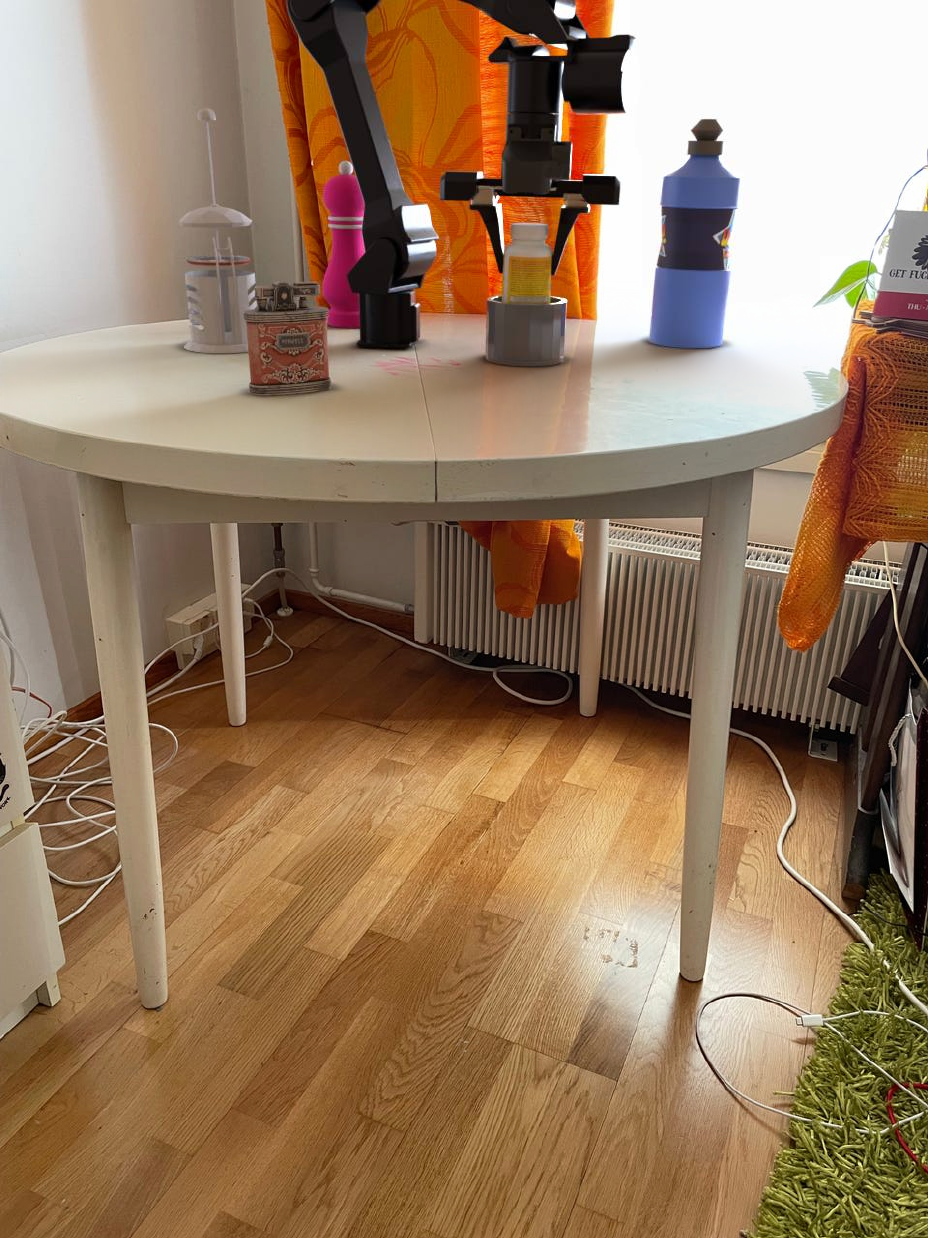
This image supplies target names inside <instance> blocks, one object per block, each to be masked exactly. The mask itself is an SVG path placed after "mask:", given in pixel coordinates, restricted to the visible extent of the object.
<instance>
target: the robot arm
mask: <svg viewBox="0 0 928 1238" xmlns="http://www.w3.org/2000/svg"><path fill="white" fill-rule="evenodd" d="M382 1H383V0H286V8H287V9H286V10H287V14H288V16H289V19H290V21H291V23H292V25H293V27H294V30H295V32H296V34H297V36H298V38H299V40H300V43H301V44H302V46H303V47H304V48H305V50H306V51H307V53H308V54H309V55H310V56H311V57H312V59H313V60H314V61H315V63H316V64H317V66H318V67H319V68H320V69H321V71H322V73H323V76H324V79H325V82H326V85H327V88H328V91H329V94H330V95H329V96H330V98H331V102H332V104H333V108H334V110H335V114H336V117H337V121H338V124H339V127H340V130H341V133H342V137H343V140H344V143H345V147H346V150H347V153H348V155H349V159H350V163H351V164H352V166H353V172H354V174H355V175H354V176H356V178H357V182H358V185H359V188H360V191H361V194H362V198H363V201H364V214H363V222H362V238H363V244H364V250H365V253H364V254H363V256H362V257H361V258H360V259H359V260H358V262H357V263H356V264H355V265H354V266H353V267H352V269H351V270H350V271H349V272H348V273H347V279H348V282H349V285H350V289H351V292H352V293H359V321H360V328H359V340H357V341H356V342H355V344H356V347H361V348H363V347H364V348H385V349H386V348H387V349H388V348H389V349H411V348H412V347H413V346H414V345H415V344H416V343H418V342H419V339H420V338H421V304H420V303H419V302H416V289H417V290H419V289H421V288H422V287H423V285H424V280H425V278H426V274H427V273H428V271H429V270H430V269H431V268H432V266H433V264H434V262H435V259H436V258H437V246H436V241H437V240H439V238H440V237H439V235H438V234H437V232H436V231H435V229H434V226H433V223H432V217H431V211H430V208H429V206H428V204H427V203H424V202H423V203H414V202H413V201H412V199H411V198H410V197H409V195H408V194H407V193H406V191H405V188H404V185H403V182H402V179H401V175H400V171H399V168H398V165H397V161H396V158H395V155H394V152H393V148H392V145H391V141H390V139H389V135H388V131H387V128H386V125H385V122H384V119H383V114H382V112H381V109H380V105H379V102H378V98H377V95H376V92H375V89H374V85H373V82H372V79H371V74H370V72H369V68H368V66H367V60H366V57H367V56H366V55H367V48H368V47H367V46H368V36H369V29H368V22H367V21H368V20H367V16H368V15H369V14H370V13H372V12H373V11H374V10H375V9H377V8H378V7H379V6H380V4H381V3H382ZM457 1H459V2H462V3H464V4H468V5H471V6H473V8H476V9H478V10H479V11H481V12H482V13H484V15H486V16H488V17H489V18H491V19H492V20H494V21H496V22H497V23H499V24H500V25H502V26H504V27H506V28H507V29H509V30H510V31H512V32H514V33H517V34H518V35H522V36H526V37H530V38H534V39H537V40H540V41H541V42H542V43H544V45H543V44H522V45H521V44H519V42H518V41H517V40H516V38H514V37H510V36H504V37H503V38H502V41H501V43H500V44H499V45H498V46H497V47H496V48H495V49H494V50H493V51H492V52H491V53H489V55H488V57H487V60H488V62H489V63H491V64H496V65H501V66H507V86H506V87H507V90H506V116H505V117H506V118H505V119H506V120H505V121H506V122H505V144H504V147H503V149H502V153H501V166H500V178H499V177H498V178H495V177H484V172H483V171H469V170H468V171H467V170H448V171H447V170H446V171H445V172H444V173H443V174H442V176H440V182H439V201H450V202H451V201H453V202H456V201H457V202H470V204H468V207H469V208H468V209H469V210H470V211H476V212H478V214H479V216H480V217H481V220H482V222H483V224H484V226H485V228H486V231H487V234H488V237H489V240H490V245H491V247H492V252H493V256H494V259H495V262H496V266H497V271H498V274H502V275H503V255H504V249H505V241H504V225H503V224H504V223H503V207H502V205H503V204H502V203H500V202H498V200H499V199H500V197H512V198H513V197H514V198H515V197H517V198H520V197H521V198H552V199H562V200H563V201H562V202H564V205H562V206H561V207H560V211H559V219H558V224H557V231H556V234H555V235H556V237H555V241H554V247H553V258H552V269H551V275H552V277H553V276H556V273H557V270H558V268H559V265H560V261H561V258H562V256H563V253H564V250H565V248H566V244H567V242H568V239H569V236H570V234H571V232H572V230H573V228H574V225H575V224H576V221H577V220H578V217H579V215H580V214H589V213H590V211H591V206H590V205H594V206H595V205H596V206H597V205H600V206H605V205H606V206H619V205H620V198H621V197H620V195H621V185H622V184H621V183H622V181H621V180H620V178H619V177H618V176H617V175H616V174H595V173H594V174H593V173H592V174H591V173H590V174H589V173H587V174H586V173H583V174H582V180H578V179H577V180H576V179H571V173H572V155H573V141H571V140H570V141H569V140H561V139H562V122H563V121H562V120H563V107H564V106H563V104H564V102H565V103H566V104H569V106H570V109H571V111H572V113H574V114H575V115H632V113H633V112H634V111H635V109H636V108H637V107H636V106H637V104H638V101H639V96H640V91H641V83H642V82H641V81H642V75H640V65H639V59H638V54H637V51H636V44H637V43H636V42H637V38H636V37H635V36H634V35H632V34H628V33H627V34H615V35H612V36H608V37H607V36H606V37H591V36H590V34H589V32H588V31H587V29H586V27H585V26H584V23H583V22H582V20H581V19H580V17H579V15H578V13H577V12H576V6H577V4H576V0H457ZM545 45H548V46H552V47H556V48H560V49H562V50H563V49H564V50H566V55H565V54H564V55H551V54H550V52H549V50H548V48H547V46H545Z"/></svg>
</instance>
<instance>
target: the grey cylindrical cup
mask: <svg viewBox="0 0 928 1238" xmlns="http://www.w3.org/2000/svg"><path fill="white" fill-rule="evenodd" d="M567 306H568V300H567V299H566V298H564V297H559V296H554V295H550V304H514V303H504V302H502V294H500V295H499V294H498V295H492V296H489V297H487V298H486V317H485V318H486V320H485V321H486V322H485V359H486V361H488V362H490V363H493V364H497V365H501V366H509V367H510V366H511V367H527V368H528V367H549V366H555V365H559V364H562V363H563V362H564V360H565V359H564V357H565V343H566V327H567V308H568V307H567Z"/></svg>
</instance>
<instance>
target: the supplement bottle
mask: <svg viewBox="0 0 928 1238" xmlns="http://www.w3.org/2000/svg"><path fill="white" fill-rule="evenodd" d="M548 236H549V224H548V223H538V222H514V223H511V224H510V238H511V239H512V242H511V243H508V244H507V245H505V246H504V255H503V274H502V283H501V284H502V285H501V295H502V302H504V303H514V304H550V296H551V292H552V277H553V275H551V269H552V258H553V252H554V250H553V248H552V247H551V246H550V245H549V244H547V243H546V240H547V239H548Z"/></svg>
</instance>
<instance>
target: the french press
mask: <svg viewBox="0 0 928 1238" xmlns="http://www.w3.org/2000/svg"><path fill="white" fill-rule="evenodd" d="M197 120H198V121H204V122H205V126H206V137H207V147H208V159H209V160H208V162H209V170H210V171H209V172H210V182H211V194H212V203H211V204H209V205H208V206H204V207H199V208H196V209H194V210H191V211H189V212H186V214H185V215H183V216H182V217H181V218H180V219H179V220H178V221H177V222H178V225H179V227H184V228H185V227H186V228H200V229H202V228H204V229H209V228H211V229H212V228H213V229H215V237H214V236H212V237H211V246H212V248H213V250H214V255H210V254H208V255H198V256H197V255H195V256H189V257H187V259H186V262H187V264H189V265H192V266H195V267H212V268H213V267H216V269H201V270H199V269H198V270H191V271H187V272H185V273H184V279H185V287H186V288H187V290H186V298H187V300H188V302H187V308H188V311H189V312H190V313H189V314H188V319H189V322H190V325H189V330H190V339H188V341H187V342H186V343H185V345H184V346H183V348H184V349H185V350H187V351H191V352H195V353H203V354H205V353H206V354H239V353H248V339H247V326H246V321H245V320H244V312H243V311H245V310H253V309H258V304H257V300H256V298H255V288H254V289H253V290H252V291H251V292H250V293H249V290H251V289H252V288H253V287H255V286H256V284H257V283H256V274H255V273H256V272H255V271H252V270H245V269H244V270H243V269H235V267H238V266H245V265H248V264H250V262H251V260H252V259H251V257H250V256H249V257H248V256H246V255H234V254H233V246H232V241H231V237H230V236H227V237H226V241H227V245H226V247H224V248H221V247H220V242H219V230H218V229H225V228H226V229H227V228H229V229H230V228H238V227H239V228H241V227H248V226H250V225H251V224H252V222H253V220H252V219H250V218H249V217H248V216H246V215H245V214H244V213H243V212H240V211H238V210H236V209H234V208H230V207H225V206H220V205H219V204H218V203H216V193H215V183H214V181H215V180H214V172H213V160H212V148H211V147H212V146H211V136H210V125H209V121H216V120H217V118H216V113H215V112H214V110H212V109H211V108H208V107H205V108H200V110H198V111H197ZM215 238H216V239H215ZM227 250H229V252H230V254H229V255H226V254H224V255H225V256H224V255H221V252H227ZM221 267H231V269H220V268H221ZM198 291H199V295H198V294H197V293H196V292H198ZM254 299H255V300H254ZM253 300H254V302H253V303H252V304H250V302H251V301H253ZM197 304H200V306H198V305H197ZM197 315H201V317H199V316H197ZM197 326H201V327H202V329H201V328H199V327H197Z"/></svg>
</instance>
